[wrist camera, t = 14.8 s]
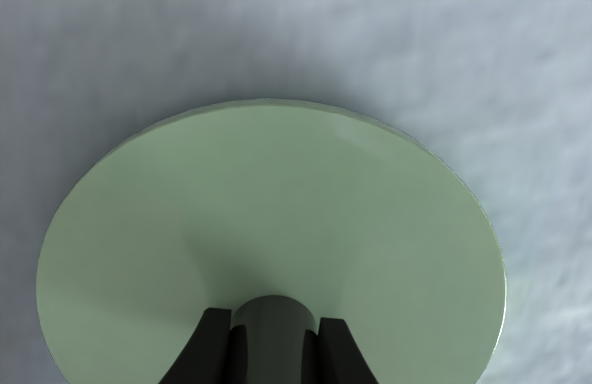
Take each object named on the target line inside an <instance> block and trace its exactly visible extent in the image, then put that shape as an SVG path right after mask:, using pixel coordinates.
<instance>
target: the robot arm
mask: <svg viewBox="0 0 592 384" xmlns="http://www.w3.org/2000/svg"><path fill="white" fill-rule="evenodd" d="M231 313H232V309H222V308H210V307H209V308H207V309H206V310H204V312H203V315H202V317H201V319H200V321H199V323H198V325H197V327H196V329H195V330H194V332H193V334H192V336H191V337H190V339H189V340H188V342H187V344H186V345H185V347H184V348H183V350H182V351H181V353H180V354H179V356H178V357H177V359H176V360H175V362H174V363H173V365H172V366H171V367H170V369H169V370H168V371H167V373H166V374H165V375H164V376H163V378H162V379H161V380H160V382H159V383H158V384H221V383H222V377H223V371H224V366H225V361H226V355H227V348H228V341H229V334H230V325H231ZM317 339H318V352H319V365H320V376H321V384H379V383H378V381H377V379H376V378H375V376H374V374H373V373H372V371H371V369H370V368H369V366H368V364H367V362H366V361H365V359H364V357H363V355H362V353H361V351H360V349H359V348H358V346H357V344H356V342H355V340H354V338H353V336H352V334H351V331H350V329H349V327H348V325H347V323H346V322H345V320H344V319H338V318H326V317H321V319H320V324H319V330H318V335H317Z"/></svg>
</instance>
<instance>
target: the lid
mask: <svg viewBox="0 0 592 384" xmlns="http://www.w3.org/2000/svg"><path fill="white" fill-rule="evenodd" d="M35 288H36V307H37V313H38V317H39V322H40V326H41V331H42V334H43V336H44V339H45V341H46V344H47V347H48V349H49V352H50V354H51V356H52V358H53V360H54V361H55V363H56V365H57V366H58V368H59V370H60V372H61V373H62V375H63V377H64V378H65V379H66V380H67V382H68V383H69V384H158V383H159V382H160V380H161V379H162V378H163V376H164V375H165V374H166V373H167V371H168V370H169V369H170V367H171V366H172V365H173V363H174V362H175V360H176V359H177V357H178V356H179V354H180V353H181V351H182V350H183V348H184V347H185V345H186V344H187V342H188V340H189V339H190V337H191V336H192V334H193V332H194V330H195V329H196V327H197V325H198V323H199V321H200V319H201V317H202V315H203V312H204V310H206V309H207V308H209V307H210V308H222V309H232V313H231V325H230V334H229V341H228V348H227V355H226V361H225V366H224V371H223V377H222V383H221V384H321V376H320V365H319V352H318V339H317V335H318V330H319V324H320V319H321V317H326V318H338V319H344V320H345V322H346V323H347V325H348V327H349V329H350V331H351V334H352V336H353V338H354V340H355V342H356V344H357V346H358V348H359V349H360V351H361V353H362V355H363V357H364V359H365V361H366V362H367V364H368V366H369V368H370V369H371V371H372V373H373V374H374V376H375V378H376V379H377V381H378V383H379V384H475V383H476V382H477V380H478V379H479V377H480V376H481V375H482V373H483V372H484V370H485V369H486V367H487V365H488V363H489V361H490V358H491V356H492V354H493V352H494V350H495V348H496V346H497V342H498V339H499V336H500V333H501V330H502V327H503V322H504V315H505V308H506V301H507V295H506V272H505V267H504V262H503V257H502V252H501V248H500V246H499V243H498V240H497V238H496V235H495V232H494V230H493V227H492V225H491V223H490V221H489V220H488V218H487V216H486V214H485V213H484V211H483V209H482V208H481V206H480V204H479V202H478V201H477V199H476V198H475V197H474V195H473V194H472V193H471V191H470V190H469V189H468V188H467V187H466V185H465V184H464V183H463V182H462V180H461V179H460V178H459V177H458V176H457V174H456V173H455V172H454V171H453V170H452V169H451V168H450V167H449V166H448V165H447V164H445V163H444V162H443V161H442V160H441V159H440V158H439V157H438V156H436V155H435V154H434V153H433V152H432V151H431V150H429V149H428V148H426V147H425V146H423V145H422V144H420V143H419V142H417V141H416V140H414V139H413V138H411V137H410V136H408V135H407V134H405V133H404V132H402V131H400V130H398V129H395V128H393V127H391V126H389V125H387V124H385V123H383V122H381V121H379V120H376V119H374V118H372V117H369V116H366V115H363V114H360V113H357V112H353V111H350V110H347V109H344V108H341V107H337V106H332V105H326V104H321V103H315V102H310V101H304V100H289V99H269V98H264V99H251V100H238V101H228V102H223V103H218V104H213V105H208V106H204V107H199V108H194V109H191V110H188V111H185V112H183V113H180V114H177V115H174V116H171V117H168V118H166V119H163V120H160V121H158V122H156V123H154V124H152V125H151V126H149V127H147V128H145V129H143V130H141V131H139V132H137V133H135V134H133V135H131V136H130V137H128V138H127V139H125V140H124V141H123V142H121V143H120V144H118V145H117V146H116V147H114V148H113V149H111V150H110V151H109V152H107V153H106V154H104V155H103V156H102V157H101V158H100V159H99V160H98V161H97V162H96V163H95V164H94V165H93V166H92V167H91V168H90V169H89V170H88V171H87V172H86V173H85V174H84V175H83V176H82V177H81V178H80V179H79V181H78V182H77V183H76V184H75V186H74V187H73V188H72V190H71V191H70V192H69V194H68V195H67V196H66V198H65V199H64V200H63V202H62V203H61V204H60V206H59V207H58V209H57V211H56V213H55V215H54V217H53V219H52V221H51V223H50V225H49V227H48V229H47V231H46V234H45V237H44V240H43V244H42V247H41V250H40V254H39V257H38V265H37V273H36V281H35Z"/></svg>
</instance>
